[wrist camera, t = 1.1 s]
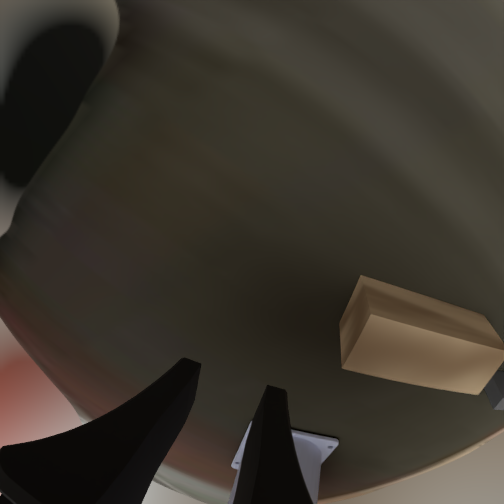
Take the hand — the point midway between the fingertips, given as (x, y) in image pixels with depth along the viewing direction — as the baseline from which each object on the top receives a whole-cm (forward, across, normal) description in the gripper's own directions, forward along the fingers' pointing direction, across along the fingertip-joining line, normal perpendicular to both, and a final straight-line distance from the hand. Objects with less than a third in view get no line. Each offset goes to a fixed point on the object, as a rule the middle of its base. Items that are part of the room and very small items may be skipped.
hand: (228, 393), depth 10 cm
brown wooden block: (+10, -10, 0) cm, 14 cm away
